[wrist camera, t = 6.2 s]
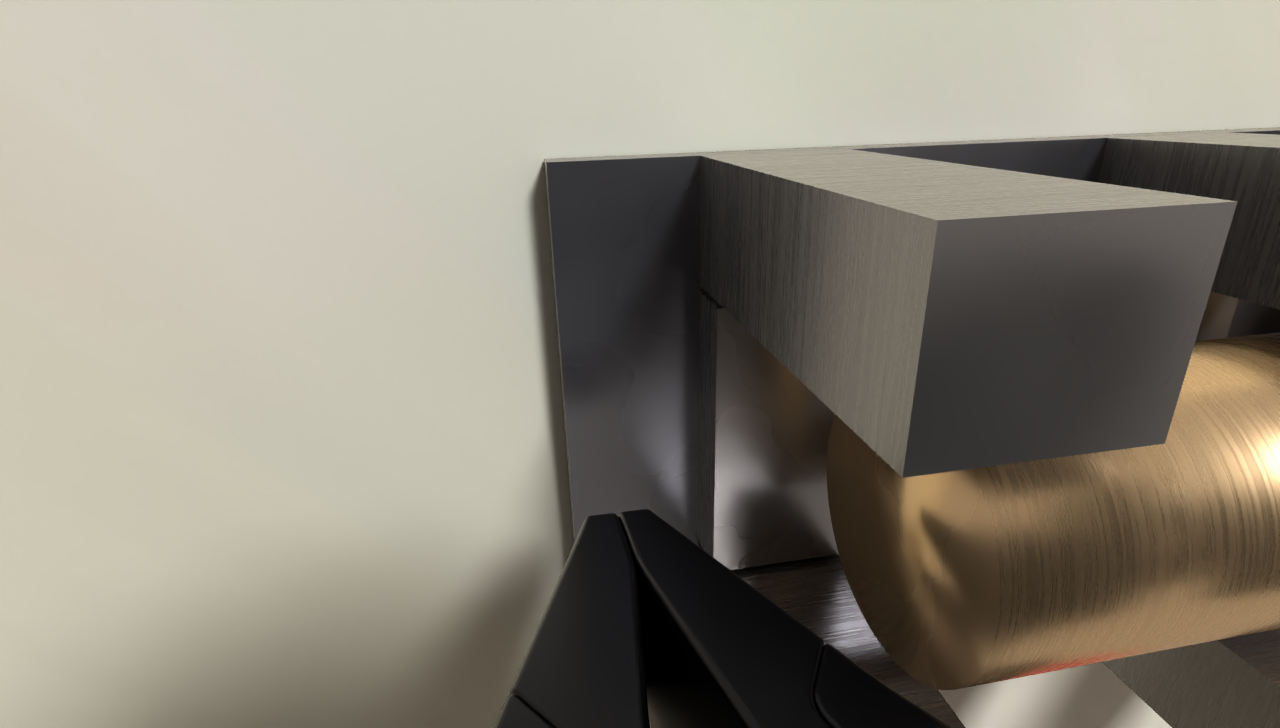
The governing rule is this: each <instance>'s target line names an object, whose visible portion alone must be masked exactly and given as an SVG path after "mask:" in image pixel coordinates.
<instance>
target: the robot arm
mask: <svg viewBox="0 0 1280 728" xmlns="http://www.w3.org/2000/svg"><path fill="white" fill-rule="evenodd" d="M649 721H650V724H651V727H652V728H952V727H950V726H949V725H947V724H945V723H944V722H942V721H940V720H939V719H937V718H936V717H934V716H933V715H931V714H930V713H928V712H926V711H925V710H923V709H922V708H920V707H919V706H917V705H916V704H914V703H913V702H911V701H909V700H908V699H906V698H905V697H903V696H902V695H900V694H899V693H897V692H895V691H894V690H892V689H891V688H890V687H888V686H887V685H885V684H884V683H883V682H881V681H880V680H878V679H877V678H876V677H874V676H873V675H871V674H870V673H868V672H867V671H866V670H864V669H863V668H861V667H860V666H859V665H857V664H856V663H854V662H853V661H852V660H850V659H849V658H848V657H846V656H845V655H844V654H842V653H841V652H840V651H838V650H837V649H836V648H834V647H833V646H832V645H830V644H826V645H825V642H824V640H823V639H822V638H820V637H819V636H818V635H816V634H815V633H814V632H812V631H811V630H810V629H808V628H807V627H806V626H804V625H803V624H802V623H800V622H799V621H798V620H796V619H795V618H794V617H792V616H791V615H790V614H788V613H787V612H786V611H784V610H783V609H782V608H780V607H779V606H778V605H776V604H775V603H774V602H772V601H771V600H770V599H768V598H767V597H766V596H764V595H763V594H762V593H760V592H759V591H758V590H756V589H755V588H754V587H752V586H751V585H750V584H748V583H747V582H746V581H744V580H743V579H742V578H740V577H739V576H738V575H736V574H735V573H734V572H732V571H731V570H730V569H728V568H727V567H725V566H724V565H723V564H721V563H720V562H719V561H717V560H716V559H715V558H713V557H712V556H711V555H709V554H708V553H707V552H705V551H704V550H703V549H701V548H700V547H699V546H697V545H696V544H695V543H693V542H692V541H691V540H689V539H688V538H687V537H685V536H684V535H683V534H681V533H680V532H679V531H677V530H676V529H675V528H673V527H672V526H671V525H669V524H668V523H667V522H665V521H664V520H663V519H661V518H660V517H659V516H657V515H656V514H655V513H653V512H652V511H650V510H648V509H641V510H633V511H625V512H621V513H620V514H619V516H617V515H616V514H614V513H608V514H600V515H591V516H588V517H586V519H585V520H584V522H583V525H582V527H581V529H580V532H579V534H578V536H577V538H576V541H575V543H574V545H573V548H572V550H571V552H570V555H569V557H568V559H567V561H566V564H565V566H564V568H563V571H562V573H561V575H560V578H559V580H558V582H557V585H556V587H555V589H554V591H553V594H552V596H551V598H550V601H549V603H548V605H547V608H546V610H545V612H544V614H543V617H542V619H541V621H540V624H539V626H538V628H537V631H536V633H535V635H534V638H533V640H532V642H531V644H530V647H529V649H528V651H527V654H526V656H525V658H524V661H523V663H522V665H521V667H520V670H519V672H518V674H517V677H516V679H515V681H514V684H513V686H512V688H511V691H510V696H508V697H507V699H506V701H505V703H504V706H503V708H502V710H501V713H500V715H499V717H498V720H497V722H496V724H495V726H494V728H650V724H649Z"/></svg>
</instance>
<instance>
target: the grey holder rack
mask: <svg viewBox="0 0 1280 728" xmlns="http://www.w3.org/2000/svg"><path fill="white" fill-rule="evenodd" d="M544 164H545V176H546V189H547V202H548V215H549V228H550V241H551V254H552V267H553V280H554V293H555V306H556V319H557V332H558V345H559V358H560V370H561V383H562V396H563V409H564V422H565V435H566V448H567V461H568V474H569V487H570V500H571V513H572V526H573V539H574V543H575V541H576V538H577V536H578V534H579V532H580V529H581V527H582V525H583V522H584V520H585V519H586V517H588V516H591V515H600V514H608V513H614V514H616V515H617V516H619V514H620V513H621V512H625V511H633V510H641V509H648V510H650V511H652V512H653V513H655V514H656V515H657V516H659V517H660V518H661V519H663V520H664V521H665V522H667V523H668V524H669V525H671V526H672V527H673V528H675V529H676V530H677V531H679V532H680V533H681V534H683V535H684V536H685V537H687V538H688V539H689V540H691V541H692V542H693V543H695V544H696V545H697V546H699V547H700V548H701V549H703V550H704V551H705V552H707V553H708V554H709V555H711V556H712V557H713V558H715V559H716V560H717V561H719V562H720V563H721V564H723V565H724V566H725V567H727V568H728V569H730V570H731V571H732V572H734V573H735V574H736V575H738V576H739V577H740V578H742V579H743V580H744V581H746V582H747V583H748V584H750V585H751V586H752V587H754V588H755V589H756V590H758V591H759V592H760V593H762V594H763V595H764V596H766V597H767V598H768V599H770V600H771V601H772V602H774V603H775V604H776V605H778V606H779V607H780V608H782V609H783V610H784V611H786V612H787V613H788V614H790V615H791V616H792V617H794V618H795V619H796V620H798V621H799V622H800V623H802V624H803V625H804V626H806V627H807V628H808V629H810V630H811V631H812V632H814V633H815V634H816V635H818V636H819V637H820V638H822V639H823V640H824V642H825V645H826V644H830V645H832V646H833V647H834V648H836V649H837V650H838V651H840V652H841V653H842V654H844V655H845V656H846V657H848V658H849V659H850V660H852V661H853V662H854V663H856V664H857V665H859V666H860V667H861V668H863V669H864V670H866V671H867V672H868V673H870V674H871V675H873V676H874V677H876V678H877V679H878V680H880V681H881V682H883V683H884V684H885V685H887V686H888V687H890V688H891V689H892V690H894V691H895V692H897V693H899V694H900V695H902V696H903V697H905V698H906V699H908V700H909V701H911V702H913V703H914V704H916V705H917V706H919V707H920V708H922V709H923V710H925V711H926V712H928V713H930V714H931V715H933V716H934V717H936V718H937V719H939V720H940V721H942V722H944V723H945V724H947V725H949V726H950V727H952V728H965V727H964V725H963V724H962V723H961V721H960V720H959V718H958V717H957V716H956V714H955V713H954V712H953V710H952V709H951V708H950V706H949V705H948V703H947V702H946V701H945V699H944V698H943V697H942V695H941V694H940V693H939V691H938V690H937V689H935V688H931V687H929V686H927V685H924V684H922V683H920V682H919V681H917V680H916V679H914V678H913V677H911V676H910V675H908V674H907V673H906V672H905V671H904V670H903V669H902V668H901V667H900V666H898V665H897V663H896V662H895V661H894V660H893V659H892V658H891V657H890V656H889V655H888V653H887V652H886V651H885V649H884V648H883V647H882V645H881V644H880V643H879V641H878V640H877V638H876V637H875V635H874V634H873V632H872V630H871V629H870V627H869V625H868V624H867V622H866V620H865V618H864V616H863V614H862V613H861V611H860V609H859V606H858V604H857V602H856V600H855V598H854V596H853V593H852V591H851V588H850V586H849V583H848V581H847V578H846V575H845V572H844V569H843V566H842V563H841V560H840V556H839V553H838V549H837V545H836V541H835V537H834V532H833V527H832V522H831V516H830V509H829V501H828V490H827V452H828V444H829V436H830V432H831V427H832V423H833V420H834V416H835V414H836V415H837V416H838V417H839V418H840V419H841V420H842V421H843V422H844V423H845V424H846V425H847V426H848V427H849V428H850V429H851V430H853V431H854V432H855V433H856V434H857V435H858V436H859V437H860V438H861V439H862V440H863V441H864V442H865V443H866V444H867V445H868V446H869V447H870V448H871V449H873V450H874V451H875V452H876V453H877V454H878V455H879V456H880V457H881V458H882V459H883V460H884V461H885V462H886V463H887V464H888V465H889V466H890V467H891V468H893V469H894V470H895V471H896V472H897V473H898V474H899V475H900V476H901V477H902V478H905V477H913V476H921V475H928V474H936V473H944V472H951V471H959V470H967V469H974V468H982V467H990V466H997V465H1005V464H1013V463H1020V462H1028V461H1036V460H1043V459H1051V458H1059V457H1067V456H1074V455H1082V454H1090V453H1097V452H1105V451H1113V450H1120V449H1128V448H1136V447H1143V446H1151V445H1159V444H1165V441H1166V438H1167V435H1168V431H1169V428H1170V425H1171V421H1172V418H1173V415H1174V411H1175V408H1176V405H1177V401H1178V398H1179V395H1180V391H1181V388H1182V385H1183V381H1184V378H1185V375H1186V371H1187V368H1188V365H1189V361H1190V358H1191V355H1192V351H1193V348H1194V345H1195V341H1202V340H1211V339H1221V338H1231V337H1241V336H1250V335H1260V334H1270V333H1280V128H1257V129H1234V130H1211V131H1188V132H1164V133H1141V134H1118V135H1095V136H1071V137H1048V138H1025V139H1001V140H978V141H955V142H932V143H908V144H885V145H862V146H839V147H815V148H792V149H769V150H745V151H722V152H699V153H676V154H652V155H629V156H606V157H583V158H559V159H544ZM1103 663H1104V664H1105V665H1106V666H1107V667H1108V668H1109V669H1110V670H1111V671H1113V672H1114V673H1115V674H1116V675H1117V676H1118V677H1119V678H1120V679H1121V680H1122V681H1123V682H1124V683H1125V684H1126V685H1127V686H1128V687H1130V688H1131V689H1132V690H1133V691H1134V692H1135V693H1136V694H1137V695H1138V696H1139V697H1140V698H1141V699H1142V700H1143V701H1144V702H1145V703H1147V704H1148V705H1149V706H1150V707H1151V708H1152V709H1153V710H1154V711H1155V712H1156V713H1157V714H1158V715H1159V716H1160V717H1161V718H1163V719H1164V720H1165V721H1166V722H1167V723H1168V724H1169V725H1170V726H1171V727H1172V728H1280V628H1279V629H1274V630H1268V631H1263V632H1258V633H1252V634H1247V635H1242V636H1236V637H1231V638H1226V639H1220V640H1215V641H1210V642H1205V643H1199V644H1194V645H1189V646H1183V647H1178V648H1173V649H1167V650H1162V651H1157V652H1151V653H1146V654H1141V655H1135V656H1130V657H1125V658H1120V659H1114V660H1109V661H1104V662H1103Z"/></svg>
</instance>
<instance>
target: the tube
mask: <svg viewBox="0 0 1280 728" xmlns="http://www.w3.org/2000/svg"><path fill="white" fill-rule="evenodd" d="M827 490H828V501H829V509H830V516H831V522H832V527H833V532H834V537H835V541H836V545H837V549H838V553H839V556H840V560H841V563H842V566H843V569H844V572H845V575H846V578H847V581H848V583H849V586H850V588H851V591H852V593H853V596H854V598H855V600H856V602H857V604H858V606H859V609H860V611H861V613H862V614H863V616H864V618H865V620H866V622H867V624H868V625H869V627H870V629H871V630H872V632H873V634H874V635H875V637H876V638H877V640H878V641H879V643H880V644H881V645H882V647H883V648H884V649H885V651H886V652H887V653H888V655H889V656H890V657H891V658H892V659H893V660H894V661H895V662H896V663H897V665H898V666H900V667H901V668H902V669H903V670H904V671H905V672H906V673H907V674H908V675H910V676H911V677H913V678H914V679H916V680H917V681H919V682H920V683H922V684H924V685H927V686H929V687H931V688H935V689H940V690H955V689H960V688H965V687H971V686H976V685H981V684H987V683H992V682H997V681H1003V680H1008V679H1013V678H1019V677H1024V676H1029V675H1034V674H1040V673H1045V672H1050V671H1056V670H1061V669H1066V668H1072V667H1077V666H1082V665H1088V664H1093V663H1098V662H1104V661H1109V660H1114V659H1120V658H1125V657H1130V656H1135V655H1141V654H1146V653H1151V652H1157V651H1162V650H1167V649H1173V648H1178V647H1183V646H1189V645H1194V644H1199V643H1205V642H1210V641H1215V640H1220V639H1226V638H1231V637H1236V636H1242V635H1247V634H1252V633H1258V632H1263V631H1268V630H1274V629H1279V628H1280V333H1270V334H1260V335H1250V336H1241V337H1231V338H1221V339H1211V340H1202V341H1195V345H1194V348H1193V351H1192V355H1191V358H1190V361H1189V365H1188V368H1187V371H1186V375H1185V378H1184V381H1183V385H1182V388H1181V391H1180V395H1179V398H1178V401H1177V405H1176V408H1175V411H1174V415H1173V418H1172V421H1171V425H1170V428H1169V431H1168V435H1167V438H1166V441H1165V444H1159V445H1151V446H1143V447H1136V448H1128V449H1120V450H1113V451H1105V452H1097V453H1090V454H1082V455H1074V456H1067V457H1059V458H1051V459H1043V460H1036V461H1028V462H1020V463H1013V464H1005V465H997V466H990V467H982V468H974V469H967V470H959V471H951V472H944V473H936V474H928V475H921V476H913V477H905V478H902V477H901V476H900V475H899V474H898V473H897V472H896V471H895V470H894V469H893V468H891V467H890V466H889V465H888V464H887V463H886V462H885V461H884V460H883V459H882V458H881V457H880V456H879V455H878V454H877V453H876V452H875V451H874V450H873V449H871V448H870V447H869V446H868V445H867V444H866V443H865V442H864V441H863V440H862V439H861V438H860V437H859V436H858V435H857V434H856V433H855V432H854V431H853V430H851V429H850V428H849V427H848V426H847V425H846V424H845V423H844V422H843V421H842V420H841V419H840V418H839V417H838V416H837V415H836V414H835V416H834V420H833V423H832V427H831V432H830V436H829V444H828V452H827Z"/></svg>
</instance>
